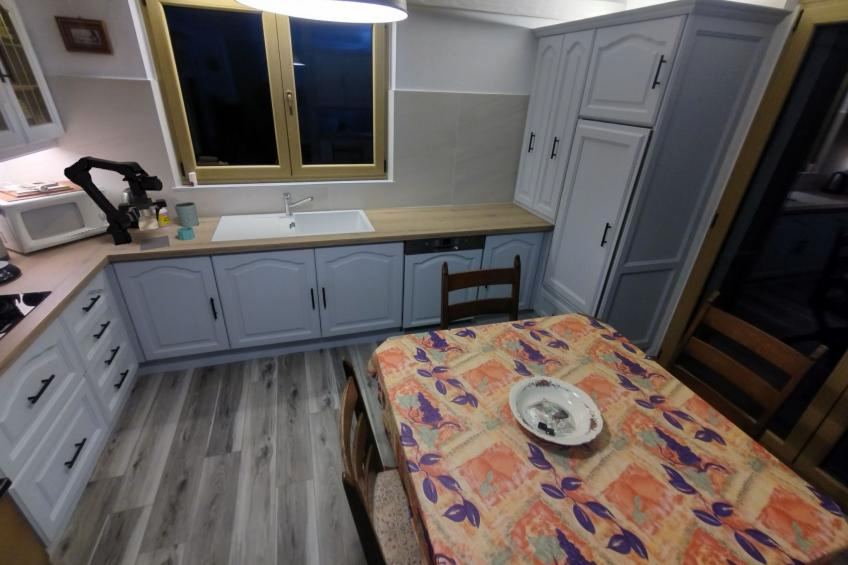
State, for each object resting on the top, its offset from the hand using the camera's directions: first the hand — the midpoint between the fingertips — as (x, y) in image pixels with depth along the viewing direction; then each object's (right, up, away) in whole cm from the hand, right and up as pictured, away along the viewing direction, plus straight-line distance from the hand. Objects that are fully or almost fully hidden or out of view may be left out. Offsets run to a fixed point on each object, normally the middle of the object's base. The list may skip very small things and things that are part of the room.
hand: (148, 222), depth 186 cm
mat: (0, -10, +5) cm, 11 cm away
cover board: (0, -1, 0) cm, 1 cm away
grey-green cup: (+2, +3, +30) cm, 30 cm away
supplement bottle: (-9, +1, +25) cm, 27 cm away
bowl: (+11, -6, +12) cm, 18 cm away
